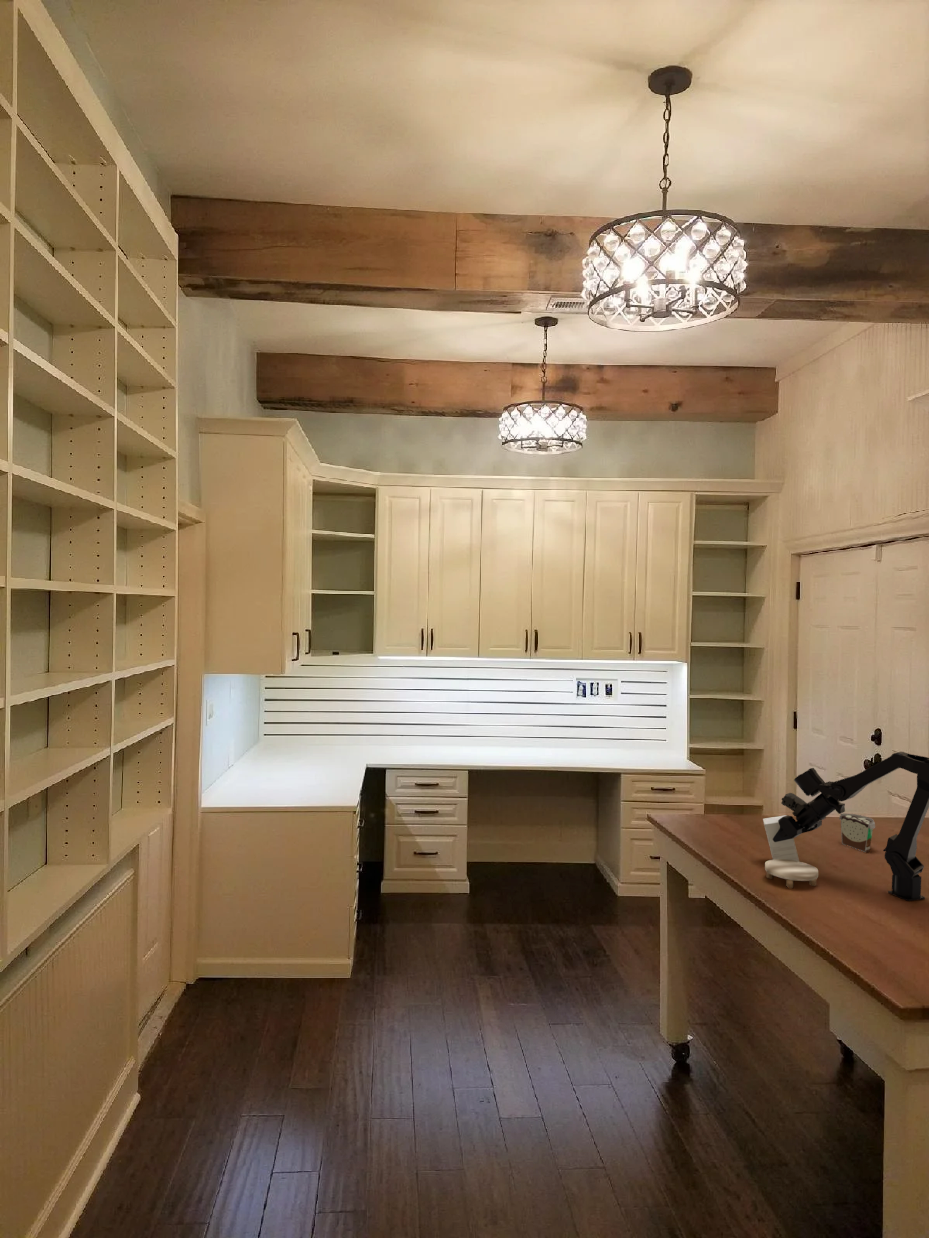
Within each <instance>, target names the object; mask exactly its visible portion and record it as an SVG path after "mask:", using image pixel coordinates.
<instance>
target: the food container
mask: <svg viewBox="0 0 929 1238" xmlns="http://www.w3.org/2000/svg"><path fill="white" fill-rule="evenodd" d="M838 820H840V835H841V845H843V846H846V845H848V846H850V847H849V848H851V847H852V849H854V848H855V850H857V849H859V850H858V851H860V850H861V851H860V852H862V851H863V853H865V852H866V853H869V852H870V850H871V843H872V837H873V830H874V829H875V828H876V823H875V821H874V819H873V818H871V817H869V816H866V815H862V814H856V813H845V812H843V813H841V814H840V815H839V818H838ZM848 846H847V847H848Z"/></svg>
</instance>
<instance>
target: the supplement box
mask: <svg viewBox="0 0 929 1238" xmlns="http://www.w3.org/2000/svg"><path fill="white" fill-rule="evenodd" d="M784 816H787V815H780V816H772V817H766V818H762V821H763V827H764V830H765V834H766V837H767V842H768V845H769V850H770V854H771V858H772V860H774V859H786V860H794V861H799V862H800V858H799V855H798V851H797V847H796V843H795V838H793V839H788V840H783V841H778V842H774V841H773V838H774V836H775V835H776V833H777V832H778V830H779V829H780V825H779V822H778V820H779V819H781V818H782V817H784Z"/></svg>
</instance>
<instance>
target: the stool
mask: <svg viewBox="0 0 929 1238" xmlns="http://www.w3.org/2000/svg"><path fill="white" fill-rule="evenodd" d="M764 870H765V872H766V878H767V879H772V880H773V879H774V877H778V878H780V879H784V880H785V887H786V886H787V887H789V888H788V889H793V888H794V881H799V882H808V884H809V885H810V886H813V887H816V886H817V879H818V877H819V870H818V868H817V867H815V866H814V865H812V864H809V863H807V862H803V861H800V860H799V861H794V860H786V859H774V860H773V859H769V860H767V861H765V863H764ZM787 887H786V888H787Z"/></svg>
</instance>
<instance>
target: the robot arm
mask: <svg viewBox="0 0 929 1238" xmlns="http://www.w3.org/2000/svg"><path fill="white" fill-rule="evenodd" d="M898 769H902V770H905V771H908V772H910V773H913V774H916V789H915V791H914V794H913V797H912V800H911V802H910V804H909V807H908V810H907V812H906V814H905V817H904V820H903V823H902V825H901V827H900V831H899V833H898V834H897V833H895V834H893V835H892V836H890V837H888V838H887V842H886V845H885V847H884V849H882V850H883V852H885V853H884V860H885V861H886V863H887V864H888V866H889V867H890V870H891V873H892V876H891V890H888V891H887V893H888V894H889V895H893V896H894V897H898V898H900V899H902V900H904V901H907V902H908V901H909V902H910V901H911V902H912V901H919V900H925V899H926V897H925V896H924V895H922V894H921V893H922V876H921V875H920V874H921V873H922V872H923V871H924V868H925V865H924V864H923V863H922V862H921V860H919V858H918V857H917V855H916V853H917V849H918V848H917V847H918V846H917V845H918V844H917V842H918V840H917V838H918V835H919V833H920V831H921V828H922V826H923V823H924V821H925V818H926V816H927V813H928V811H929V757H928V756H923V755H918V754H911V753H907V752H904V751H897V752H894V753H892V754H891V755H890V756H888V757H887V758H885V759H883V760H881V761H880V762H877V763H876V764H874V765H872V766H870V767H868V768H866V769H865V770H863V771H861V772H859V773H857V774H854V775H851V776H848V777H845V778H842V779H839V780H836V781H826V782H825V781H824V779H823V778H822V777H821V775H819V774H818V772H817V770H816V769H815V768H814V767H810V768H809V769H807V770H805V771H804V772H803V773H801V774H800V773H799V774H798V775H797V776H796V777H795V778H794V779H793V782H795V783H796V785H797V786H798V787H799V788H800V790H801V791H802V792H803V793H804V795H805V796H807V797H809V796H810V797H812V798H813V797H815V796H816V797H815V798H813V799H812V800H810V801H808V802H806V801H805V800H804V799H802V798H800V797H799V796H798V795H797V794H795V793H793V792H789V793H785V795H784V796H783V797H782V798H781V802H780V803H781V805H782V806H785V807H786V808H788V809H789V810H790V811H792V815H793V816H794V817H795V818H794V817H793V816H792V815H788V814H787V815H786V816H784V815H783V816H784V817H782V818H781V819H779V820H778V822H779V825H780V829H779V830H778V832H777V833H776V835H775V836H774V838H773V841H774V842H778V841H783V840H788V839H793V838H794V839H795V838H797V837H799V836H800V835H802V834H804V833H809V832H812V831H814V830H816V829H819V828H820V827H821V826H822V825H823V820H825V819H826V818H827V816H828V815H830V814H831V813H833V812H834V811H836V812H837V814H838V815H839V814H840V815H841V814H843V813H845V812H846V809H845V805H846V803H844V801H847V800H850V799H852V798H855V797H856V796H857V795H858V794H859V793H861V792H862V791H863V790H864V789H865V788H866V787H867V786H869V785H871V784H873V783H874V782H876V781H878V780H880V779H882V778H883V777H885V776H887V775H889V774H891V773H893V772H895V771H897V770H898Z"/></svg>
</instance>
